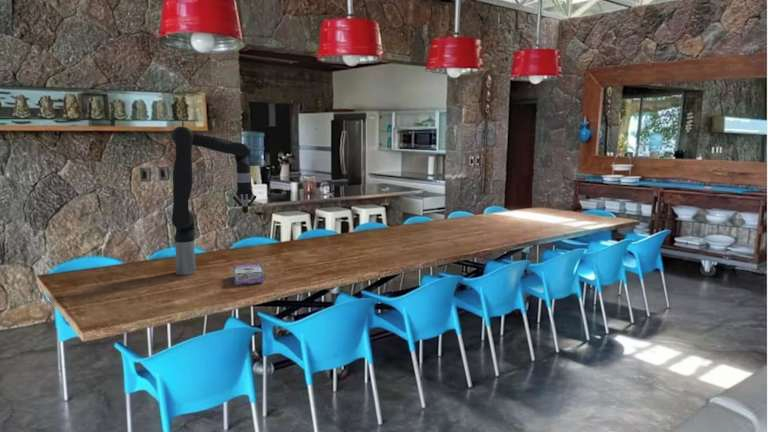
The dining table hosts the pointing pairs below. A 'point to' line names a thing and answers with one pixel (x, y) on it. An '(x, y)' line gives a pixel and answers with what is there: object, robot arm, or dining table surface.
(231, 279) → the mat
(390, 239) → the dining table surface
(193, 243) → the robot arm
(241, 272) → the candy box
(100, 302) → the dining table surface
